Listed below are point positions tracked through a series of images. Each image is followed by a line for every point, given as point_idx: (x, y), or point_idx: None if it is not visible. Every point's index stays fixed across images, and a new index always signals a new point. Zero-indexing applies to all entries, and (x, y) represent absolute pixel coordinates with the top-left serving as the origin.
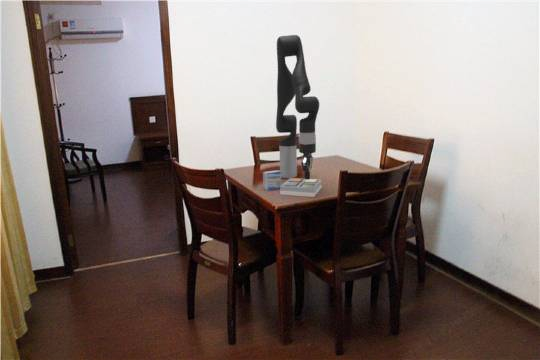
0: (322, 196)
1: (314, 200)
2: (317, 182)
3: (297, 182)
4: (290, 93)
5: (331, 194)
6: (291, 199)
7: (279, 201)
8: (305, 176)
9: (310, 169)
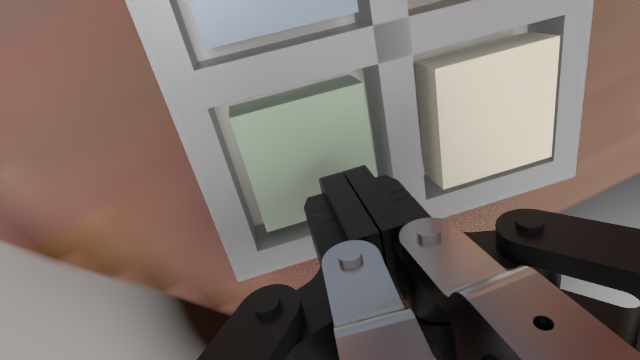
0: (287, 271)
1: (151, 279)
2: (468, 193)
3: (353, 1)
4: None
5: None
6: (21, 93)
7: None
8: (308, 219)
9: (429, 325)
